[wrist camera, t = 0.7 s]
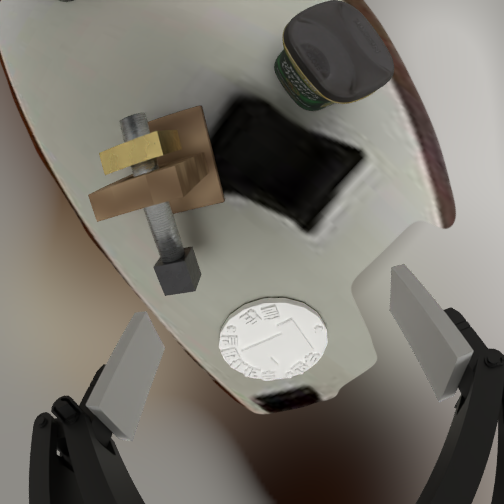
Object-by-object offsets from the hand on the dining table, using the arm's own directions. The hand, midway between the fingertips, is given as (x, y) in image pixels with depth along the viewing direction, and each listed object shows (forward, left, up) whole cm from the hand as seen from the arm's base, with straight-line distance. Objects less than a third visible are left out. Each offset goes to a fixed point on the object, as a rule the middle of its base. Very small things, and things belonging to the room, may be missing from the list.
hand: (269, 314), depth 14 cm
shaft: (-3, -12, -20) cm, 23 cm away
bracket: (-6, -12, -28) cm, 31 cm away
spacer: (-10, -12, -18) cm, 24 cm away
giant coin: (+27, -3, -28) cm, 40 cm away
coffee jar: (-15, +9, -28) cm, 33 cm away
